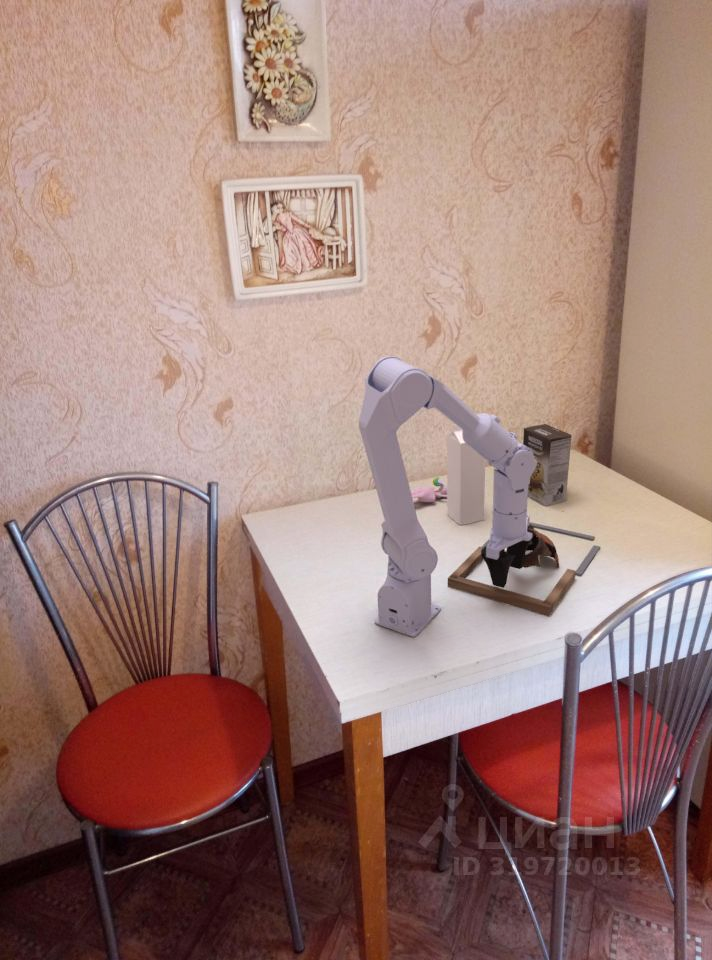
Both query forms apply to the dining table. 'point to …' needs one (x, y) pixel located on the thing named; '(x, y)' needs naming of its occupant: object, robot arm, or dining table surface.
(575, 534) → the grey open frame
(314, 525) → the dining table surface
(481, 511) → the milk
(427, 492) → the rabbit figure
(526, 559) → the pottery mug
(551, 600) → the walnut holder
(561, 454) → the coffee box
